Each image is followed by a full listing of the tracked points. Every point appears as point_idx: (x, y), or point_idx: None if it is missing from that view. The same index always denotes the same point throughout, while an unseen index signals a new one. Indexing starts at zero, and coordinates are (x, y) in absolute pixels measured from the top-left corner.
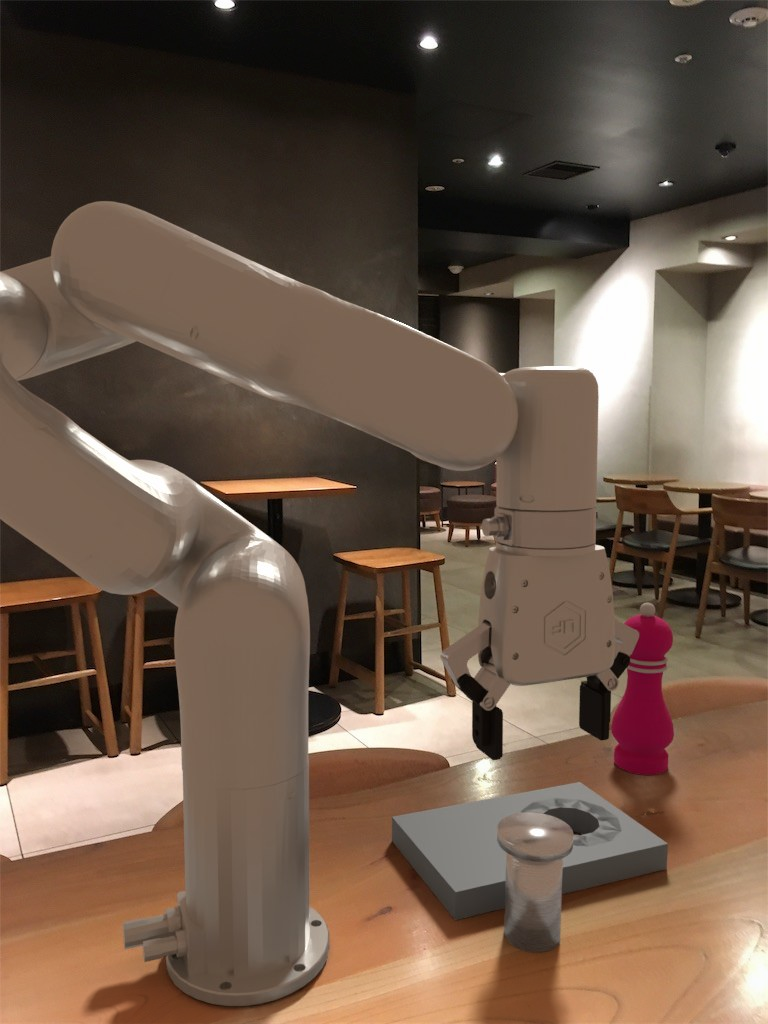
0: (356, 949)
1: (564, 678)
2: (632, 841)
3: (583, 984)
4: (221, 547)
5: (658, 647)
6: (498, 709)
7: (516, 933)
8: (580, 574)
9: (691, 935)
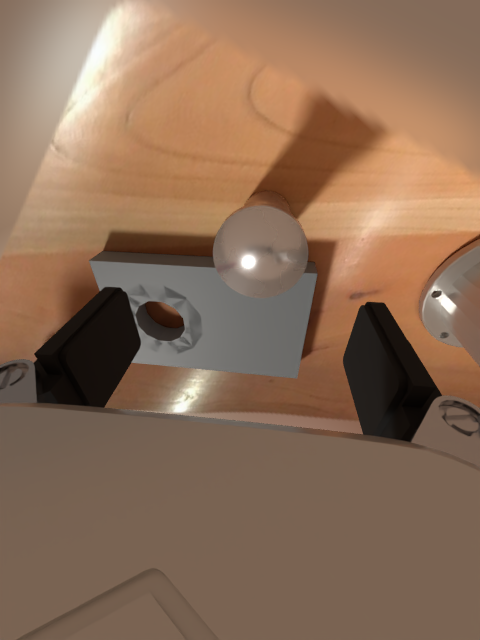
0: (413, 261)
1: (189, 419)
2: (120, 276)
3: (265, 128)
4: None
5: None
6: (417, 390)
7: (290, 211)
8: None
9: (125, 154)
